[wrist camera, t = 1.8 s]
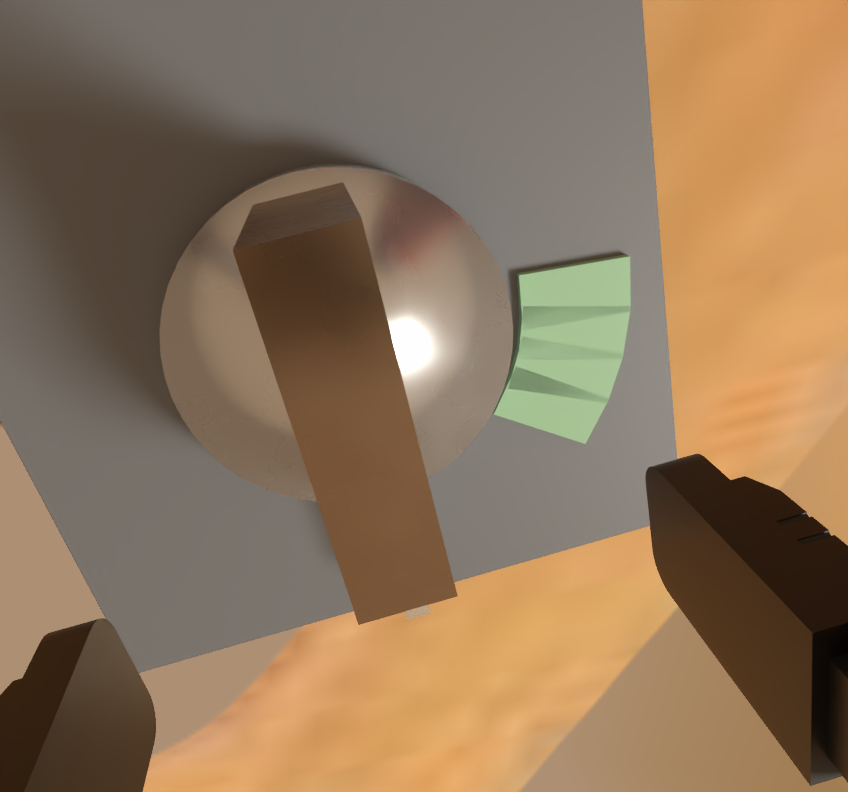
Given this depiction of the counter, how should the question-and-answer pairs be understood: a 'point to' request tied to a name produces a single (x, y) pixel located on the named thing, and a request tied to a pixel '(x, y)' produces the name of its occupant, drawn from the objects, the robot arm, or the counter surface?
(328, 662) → the counter surface
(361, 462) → the dial
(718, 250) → the counter surface
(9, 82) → the dial plate
